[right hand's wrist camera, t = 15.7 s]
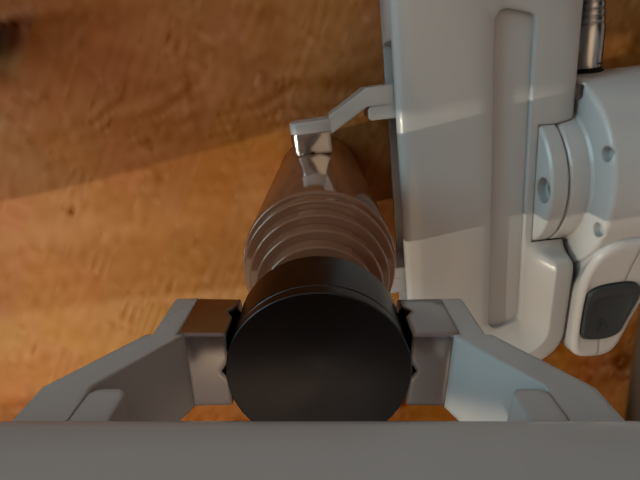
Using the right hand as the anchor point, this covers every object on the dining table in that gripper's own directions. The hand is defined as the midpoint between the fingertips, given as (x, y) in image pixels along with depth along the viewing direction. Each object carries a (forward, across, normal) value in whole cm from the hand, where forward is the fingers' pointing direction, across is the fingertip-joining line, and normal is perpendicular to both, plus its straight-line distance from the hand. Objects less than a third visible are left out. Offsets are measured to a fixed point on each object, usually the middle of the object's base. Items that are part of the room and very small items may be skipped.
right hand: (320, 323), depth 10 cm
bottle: (+17, 0, 0) cm, 17 cm away
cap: (-2, 0, 0) cm, 2 cm away
